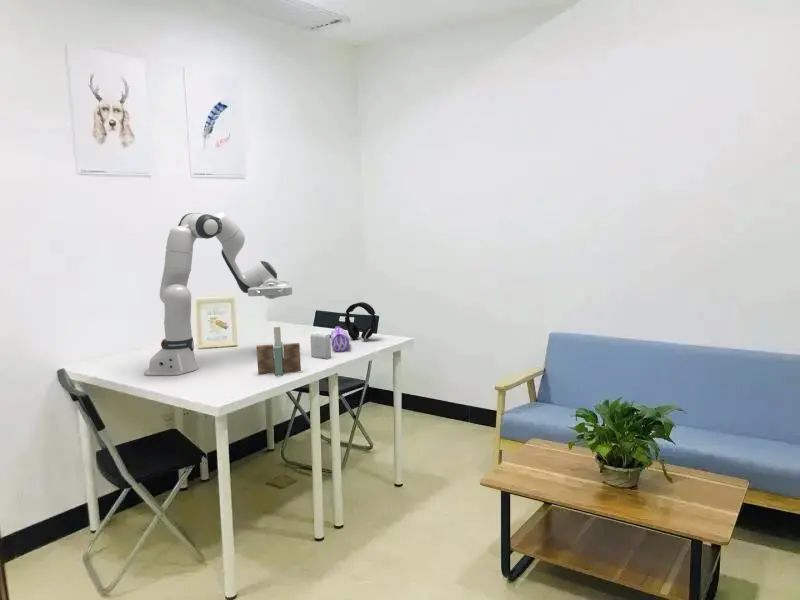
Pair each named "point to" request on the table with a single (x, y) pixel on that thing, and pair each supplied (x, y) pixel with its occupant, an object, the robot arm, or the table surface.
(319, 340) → the photo printer
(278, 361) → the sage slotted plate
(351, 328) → the headphones
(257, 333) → the table surface
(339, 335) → the pencil case
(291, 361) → the walnut slotted board
